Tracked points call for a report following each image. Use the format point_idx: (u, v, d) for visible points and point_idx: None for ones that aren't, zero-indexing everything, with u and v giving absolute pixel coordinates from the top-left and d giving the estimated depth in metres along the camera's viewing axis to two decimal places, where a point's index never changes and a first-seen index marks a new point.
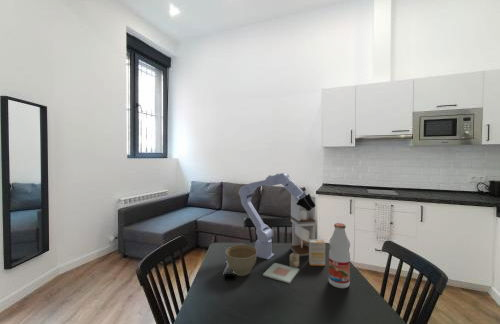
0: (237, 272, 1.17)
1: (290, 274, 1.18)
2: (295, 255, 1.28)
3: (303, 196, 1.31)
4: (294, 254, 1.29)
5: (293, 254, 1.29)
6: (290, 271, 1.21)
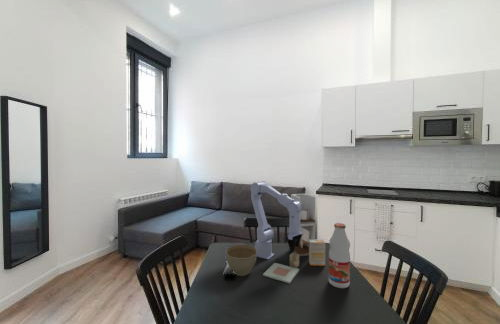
0: (237, 272, 1.17)
1: (290, 274, 1.18)
2: (295, 255, 1.28)
3: None
4: (294, 254, 1.29)
5: (293, 254, 1.29)
6: (290, 271, 1.21)
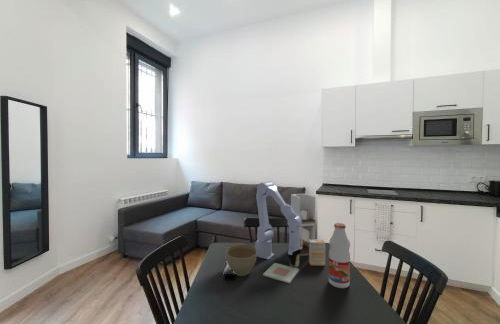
0: (237, 272, 1.17)
1: (290, 274, 1.18)
2: None
3: None
4: None
5: None
6: (290, 271, 1.21)
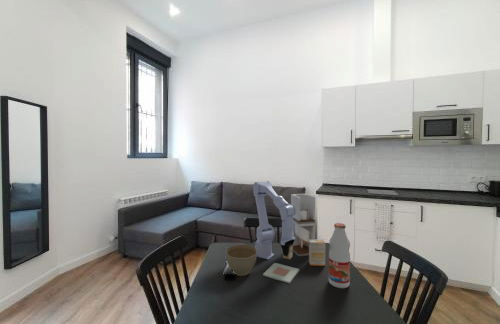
0: (237, 272, 1.17)
1: (290, 274, 1.18)
2: None
3: None
4: None
5: None
6: (290, 271, 1.21)
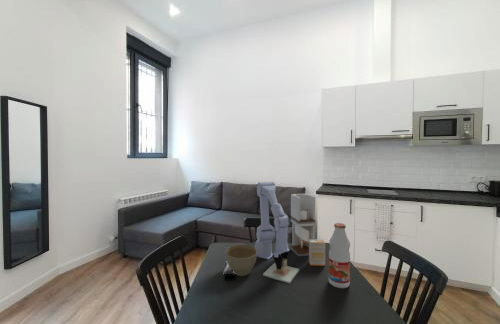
0: (237, 272, 1.17)
1: (290, 274, 1.18)
2: None
3: None
4: None
5: None
6: (290, 271, 1.21)
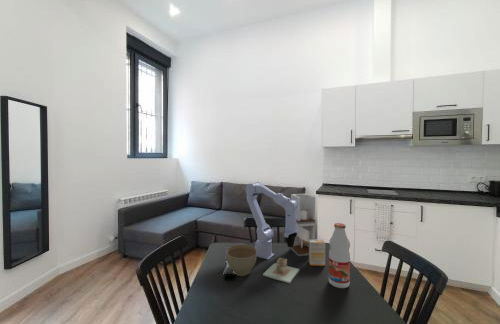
0: (237, 272, 1.17)
1: (290, 274, 1.18)
2: (282, 260, 1.20)
3: None
4: (281, 259, 1.21)
5: (280, 259, 1.21)
6: (290, 271, 1.21)
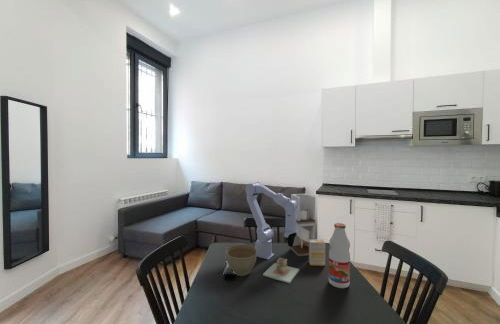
0: (237, 272, 1.17)
1: (290, 274, 1.18)
2: (282, 260, 1.20)
3: None
4: (281, 259, 1.21)
5: (280, 259, 1.21)
6: (290, 271, 1.21)
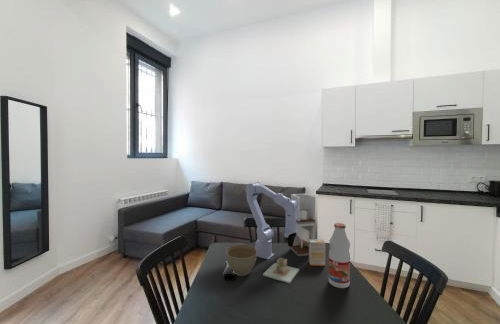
0: (237, 272, 1.17)
1: (290, 274, 1.18)
2: (282, 260, 1.20)
3: None
4: (281, 259, 1.21)
5: (280, 259, 1.21)
6: (290, 271, 1.21)
